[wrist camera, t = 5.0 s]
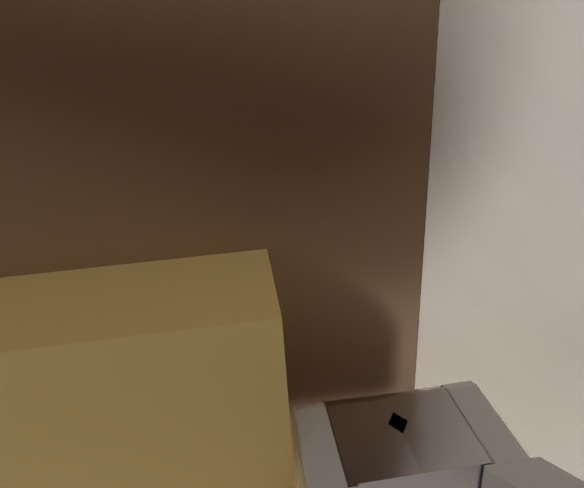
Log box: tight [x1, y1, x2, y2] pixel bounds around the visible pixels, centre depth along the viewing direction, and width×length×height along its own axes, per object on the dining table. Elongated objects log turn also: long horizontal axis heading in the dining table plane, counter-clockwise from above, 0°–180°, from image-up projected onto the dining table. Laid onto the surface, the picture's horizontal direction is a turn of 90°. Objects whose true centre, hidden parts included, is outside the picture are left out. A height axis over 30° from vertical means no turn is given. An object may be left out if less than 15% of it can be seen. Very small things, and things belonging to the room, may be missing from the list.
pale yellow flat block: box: [0, 249, 295, 488], centre depth 7 cm, size 6×7×2 cm
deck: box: [0, 0, 440, 488], centre depth 9 cm, size 20×10×2 cm, turn 3°
